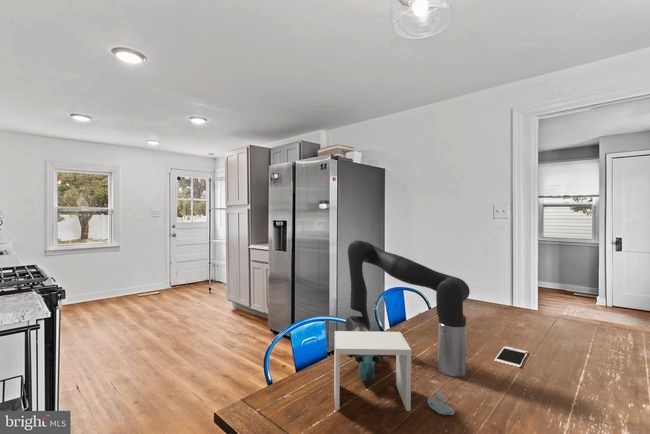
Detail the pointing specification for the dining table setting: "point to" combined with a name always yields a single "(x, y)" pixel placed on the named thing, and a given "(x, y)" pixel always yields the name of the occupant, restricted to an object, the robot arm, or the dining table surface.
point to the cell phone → (511, 356)
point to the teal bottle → (367, 367)
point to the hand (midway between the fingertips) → (367, 360)
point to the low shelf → (375, 346)
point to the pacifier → (440, 404)
